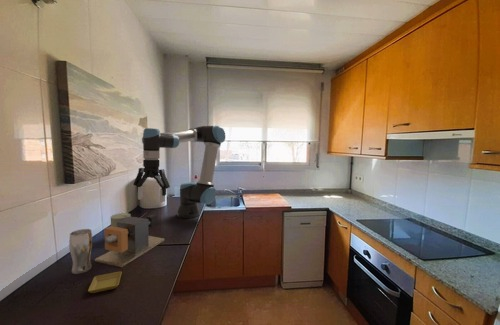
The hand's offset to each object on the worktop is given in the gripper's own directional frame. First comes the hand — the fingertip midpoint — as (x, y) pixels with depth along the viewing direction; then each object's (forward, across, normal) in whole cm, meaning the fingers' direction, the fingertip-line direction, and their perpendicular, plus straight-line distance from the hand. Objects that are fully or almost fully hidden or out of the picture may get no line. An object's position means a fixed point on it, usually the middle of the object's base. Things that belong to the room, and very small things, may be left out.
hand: (151, 200), depth 109 cm
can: (+21, -17, -3) cm, 27 cm away
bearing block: (+21, 0, -12) cm, 24 cm away
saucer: (+22, +11, -35) cm, 42 cm away
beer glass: (+21, -6, -31) cm, 38 cm away
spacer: (+16, 0, -21) cm, 26 cm away
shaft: (+13, 0, -11) cm, 17 cm away
